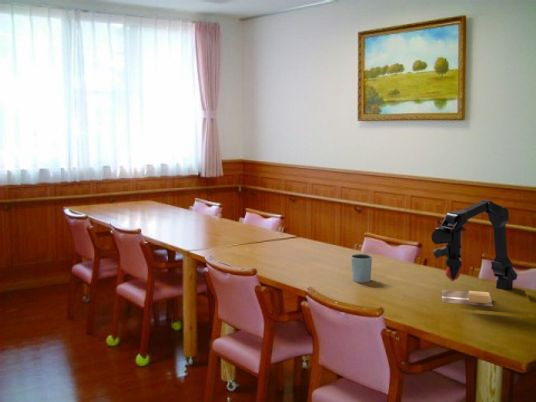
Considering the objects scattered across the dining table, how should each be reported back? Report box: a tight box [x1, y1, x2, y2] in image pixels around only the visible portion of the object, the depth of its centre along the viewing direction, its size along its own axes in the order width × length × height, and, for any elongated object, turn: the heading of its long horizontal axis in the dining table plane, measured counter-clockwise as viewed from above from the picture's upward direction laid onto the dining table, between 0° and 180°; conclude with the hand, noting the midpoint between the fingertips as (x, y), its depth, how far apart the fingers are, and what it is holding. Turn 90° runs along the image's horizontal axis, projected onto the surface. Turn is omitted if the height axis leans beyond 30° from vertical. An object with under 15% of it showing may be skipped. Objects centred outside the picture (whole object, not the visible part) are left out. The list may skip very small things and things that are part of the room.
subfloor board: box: [441, 289, 493, 307], centre depth 253 cm, size 20×18×2 cm
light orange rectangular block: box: [468, 290, 490, 303], centre depth 248 cm, size 8×6×3 cm
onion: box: [445, 266, 461, 282], centre depth 251 cm, size 6×6×8 cm
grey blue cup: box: [350, 253, 373, 284], centre depth 285 cm, size 10×10×12 cm
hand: (452, 277), depth 251 cm, fingers closed on onion, 6 cm apart
